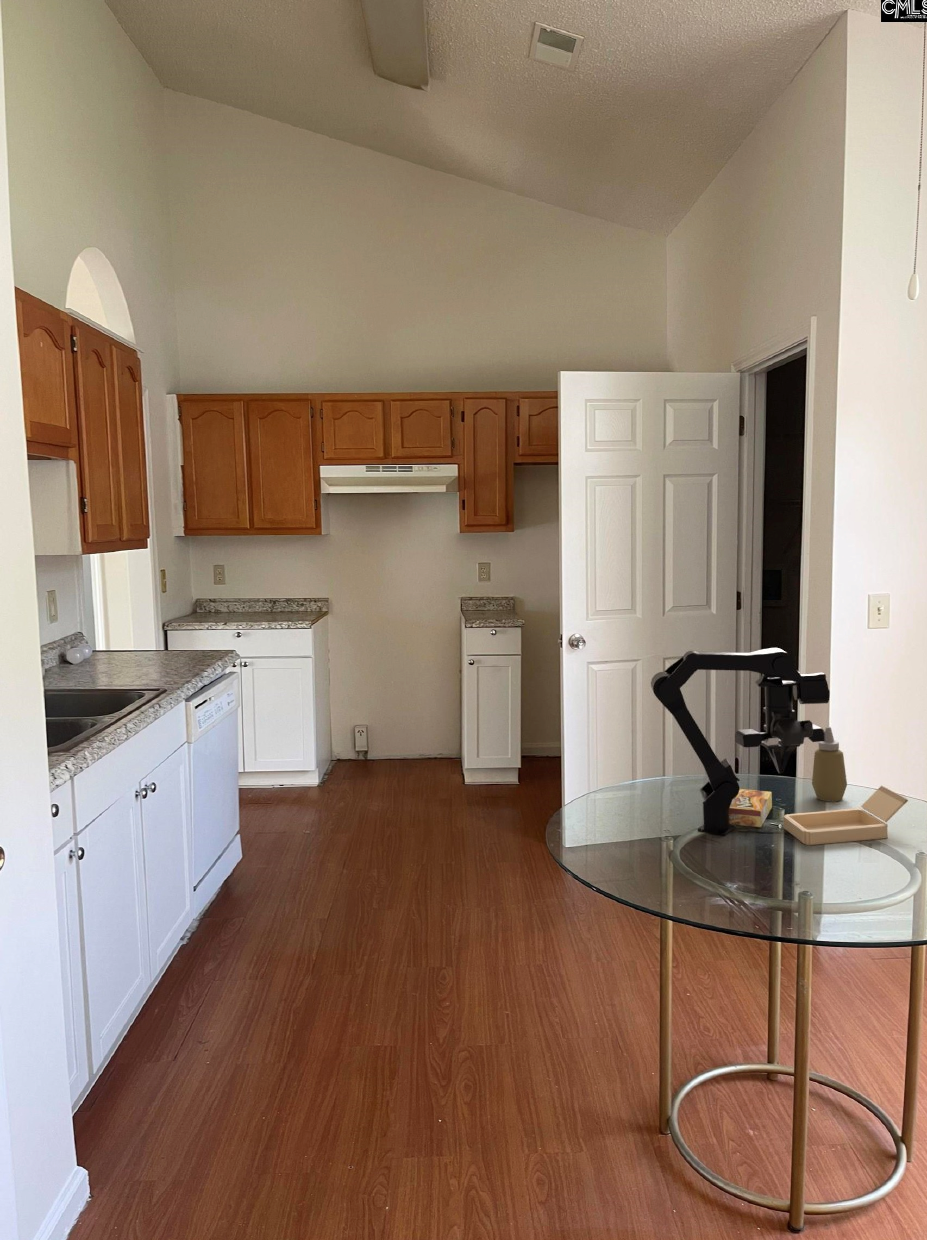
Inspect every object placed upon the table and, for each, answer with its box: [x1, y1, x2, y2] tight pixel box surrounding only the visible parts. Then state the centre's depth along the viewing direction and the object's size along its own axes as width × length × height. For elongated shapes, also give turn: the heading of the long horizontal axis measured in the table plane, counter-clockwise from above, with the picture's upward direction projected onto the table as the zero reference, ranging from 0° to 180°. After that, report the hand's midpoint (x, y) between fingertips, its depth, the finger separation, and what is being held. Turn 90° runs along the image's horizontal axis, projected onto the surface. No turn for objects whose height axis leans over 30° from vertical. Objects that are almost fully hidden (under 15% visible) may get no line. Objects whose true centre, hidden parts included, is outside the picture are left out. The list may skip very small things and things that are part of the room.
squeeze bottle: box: [811, 726, 848, 802], centre depth 215 cm, size 8×8×18 cm
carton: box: [782, 808, 888, 846], centre depth 193 cm, size 18×12×3 cm, turn 94°
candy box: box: [729, 788, 773, 828], centre depth 208 cm, size 9×4×15 cm
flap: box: [860, 785, 909, 823], centre depth 194 cm, size 1×10×7 cm
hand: (780, 772), depth 197 cm, fingers closed
